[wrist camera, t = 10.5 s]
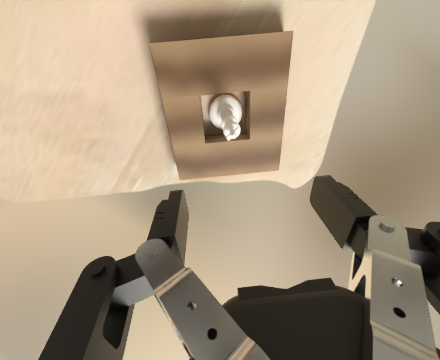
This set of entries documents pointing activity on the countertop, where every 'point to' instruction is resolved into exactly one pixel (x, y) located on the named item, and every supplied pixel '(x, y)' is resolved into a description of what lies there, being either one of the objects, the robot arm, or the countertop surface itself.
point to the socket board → (225, 83)
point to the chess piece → (226, 115)
